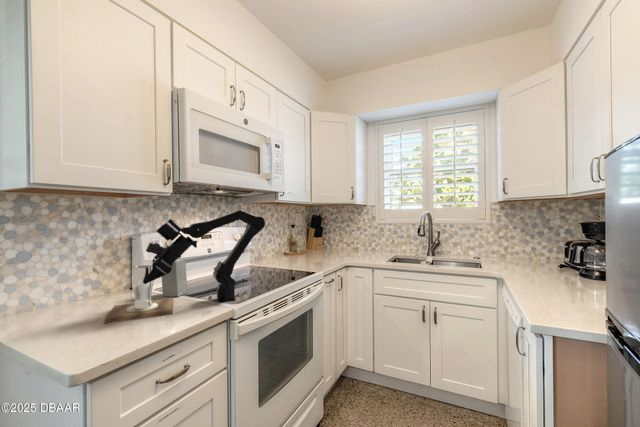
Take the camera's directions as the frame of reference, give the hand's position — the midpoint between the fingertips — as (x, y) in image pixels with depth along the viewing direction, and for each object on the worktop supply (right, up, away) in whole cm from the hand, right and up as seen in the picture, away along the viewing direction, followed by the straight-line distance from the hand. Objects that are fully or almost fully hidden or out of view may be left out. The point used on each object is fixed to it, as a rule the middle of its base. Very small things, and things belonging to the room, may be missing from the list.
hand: (144, 280), depth 107 cm
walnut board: (0, -11, 0) cm, 11 cm away
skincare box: (0, -12, +22) cm, 25 cm away
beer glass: (0, -10, 0) cm, 10 cm away
